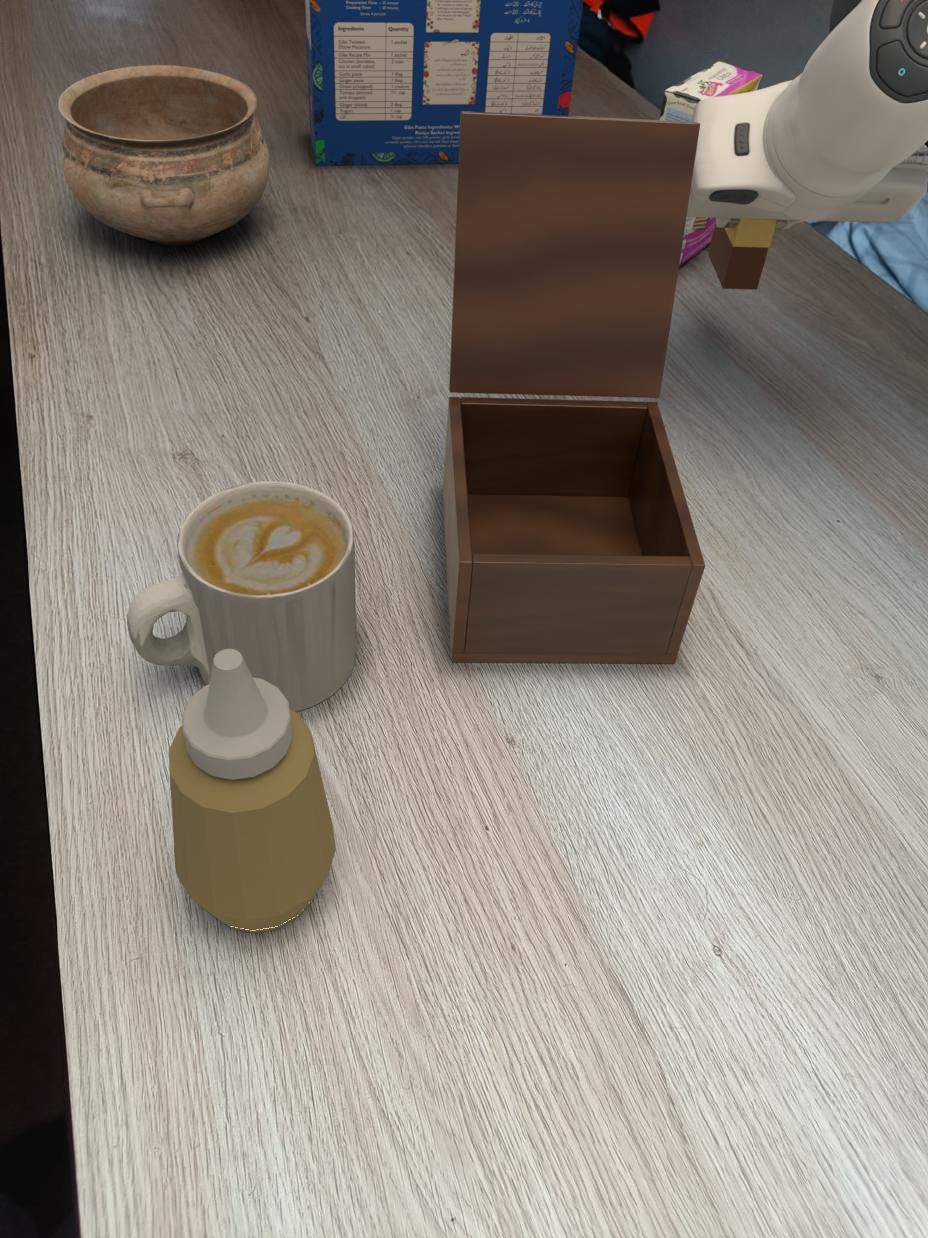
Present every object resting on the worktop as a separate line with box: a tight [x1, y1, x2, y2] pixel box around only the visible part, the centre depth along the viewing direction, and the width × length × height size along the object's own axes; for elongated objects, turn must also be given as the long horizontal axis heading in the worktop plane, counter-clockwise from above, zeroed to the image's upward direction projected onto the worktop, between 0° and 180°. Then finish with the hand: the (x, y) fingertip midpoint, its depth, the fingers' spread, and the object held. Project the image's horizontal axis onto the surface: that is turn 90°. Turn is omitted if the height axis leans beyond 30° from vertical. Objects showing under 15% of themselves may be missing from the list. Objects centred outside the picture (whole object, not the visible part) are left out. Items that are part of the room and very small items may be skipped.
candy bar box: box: [658, 61, 763, 268], centre depth 103 cm, size 11×5×16 cm, turn 144°
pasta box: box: [304, 0, 584, 167], centre depth 112 cm, size 28×8×28 cm, turn 100°
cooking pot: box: [57, 64, 270, 247], centre depth 101 cm, size 25×19×12 cm
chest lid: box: [448, 111, 700, 399], centre depth 71 cm, size 17×15×4 cm
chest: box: [442, 396, 706, 664], centre depth 71 cm, size 17×15×9 cm
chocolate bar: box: [707, 219, 777, 291], centre depth 89 cm, size 3×6×10 cm, turn 3°
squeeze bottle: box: [168, 649, 337, 934], centre depth 50 cm, size 8×8×18 cm
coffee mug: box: [126, 480, 357, 713], centre depth 64 cm, size 13×10×10 cm
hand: (750, 219), depth 87 cm, fingers closed on chocolate bar, 3 cm apart
